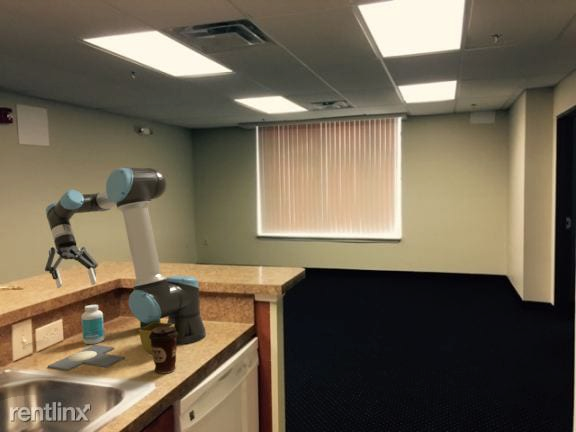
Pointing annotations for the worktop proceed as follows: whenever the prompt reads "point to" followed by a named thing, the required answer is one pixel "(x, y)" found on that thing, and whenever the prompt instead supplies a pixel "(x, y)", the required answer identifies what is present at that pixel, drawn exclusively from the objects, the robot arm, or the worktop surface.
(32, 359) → the worktop surface
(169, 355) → the coffee cup
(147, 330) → the flower pot
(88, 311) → the pill bottle
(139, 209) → the robot arm
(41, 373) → the worktop surface
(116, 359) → the t mat
